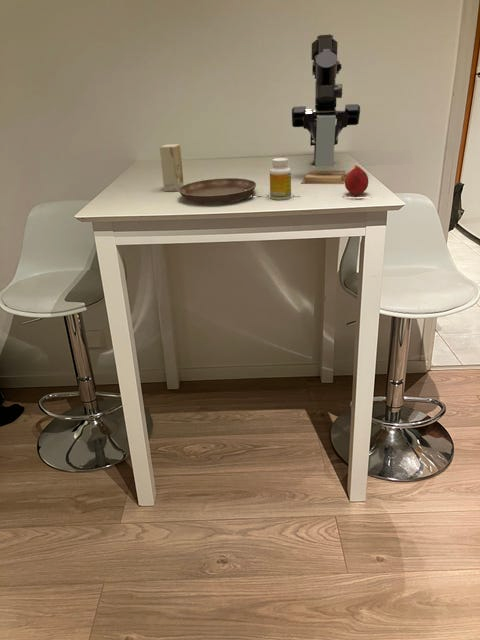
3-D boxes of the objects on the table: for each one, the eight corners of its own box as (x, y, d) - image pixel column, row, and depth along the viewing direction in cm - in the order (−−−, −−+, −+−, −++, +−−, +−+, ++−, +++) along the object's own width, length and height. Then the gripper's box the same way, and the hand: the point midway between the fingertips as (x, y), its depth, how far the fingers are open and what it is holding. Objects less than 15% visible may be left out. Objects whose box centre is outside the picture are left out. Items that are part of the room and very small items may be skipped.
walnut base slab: (306, 180, 158) (306, 175, 157) (347, 180, 155) (347, 175, 154) (300, 189, 147) (300, 183, 147) (343, 189, 144) (343, 183, 144)
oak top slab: (310, 175, 156) (310, 170, 155) (344, 176, 153) (344, 170, 153) (304, 182, 147) (304, 177, 147) (340, 183, 145) (340, 177, 144)
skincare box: (178, 191, 148) (174, 146, 143) (163, 191, 149) (158, 147, 144) (184, 186, 154) (180, 143, 149) (170, 186, 155) (166, 143, 149)
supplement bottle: (289, 200, 133) (289, 160, 128) (268, 200, 134) (267, 161, 129) (292, 195, 137) (292, 157, 133) (271, 195, 138) (271, 157, 134)
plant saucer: (173, 209, 131) (172, 195, 130) (185, 191, 150) (184, 179, 148) (255, 206, 130) (255, 192, 129) (257, 188, 149) (256, 176, 147)
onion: (367, 194, 134) (369, 162, 131) (367, 199, 129) (369, 166, 126) (344, 194, 136) (345, 162, 132) (343, 199, 131) (345, 166, 127)
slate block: (315, 163, 151) (317, 115, 145) (332, 163, 150) (335, 114, 145) (315, 166, 147) (316, 117, 141) (333, 166, 146) (335, 116, 140)
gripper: (291, 75, 143) (290, 122, 138) (361, 71, 140) (362, 119, 136) (292, 103, 153) (291, 148, 149) (357, 101, 151) (358, 146, 146)
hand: (325, 140), depth 144 cm, fingers closed on slate block, 5 cm apart
